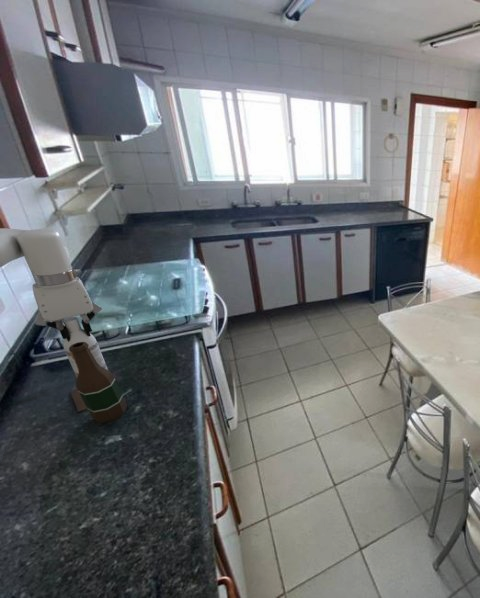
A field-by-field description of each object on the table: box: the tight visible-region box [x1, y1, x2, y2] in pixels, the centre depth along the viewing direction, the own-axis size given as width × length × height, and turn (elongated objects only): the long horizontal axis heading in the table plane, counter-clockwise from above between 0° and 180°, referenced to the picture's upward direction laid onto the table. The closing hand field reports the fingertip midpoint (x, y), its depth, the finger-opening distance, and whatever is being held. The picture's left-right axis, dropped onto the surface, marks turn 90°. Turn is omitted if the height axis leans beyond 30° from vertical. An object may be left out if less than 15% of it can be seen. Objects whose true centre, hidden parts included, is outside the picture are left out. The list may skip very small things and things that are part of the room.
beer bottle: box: [69, 342, 128, 424], centre depth 90 cm, size 8×8×24 cm
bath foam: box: [62, 316, 109, 378], centre depth 96 cm, size 7×7×20 cm
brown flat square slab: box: [70, 375, 117, 413], centre depth 102 cm, size 12×12×1 cm
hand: (78, 336), depth 94 cm, fingers closed on bath foam, 3 cm apart
